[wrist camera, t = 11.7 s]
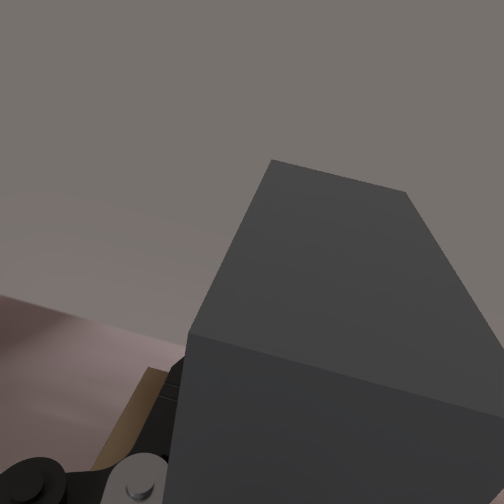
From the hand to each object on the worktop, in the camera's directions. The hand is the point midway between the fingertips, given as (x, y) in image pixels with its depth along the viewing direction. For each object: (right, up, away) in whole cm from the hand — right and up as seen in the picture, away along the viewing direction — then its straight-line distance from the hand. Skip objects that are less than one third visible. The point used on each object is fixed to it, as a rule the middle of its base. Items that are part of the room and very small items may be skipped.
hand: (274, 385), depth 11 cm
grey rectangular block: (-2, -8, +1) cm, 8 cm away
